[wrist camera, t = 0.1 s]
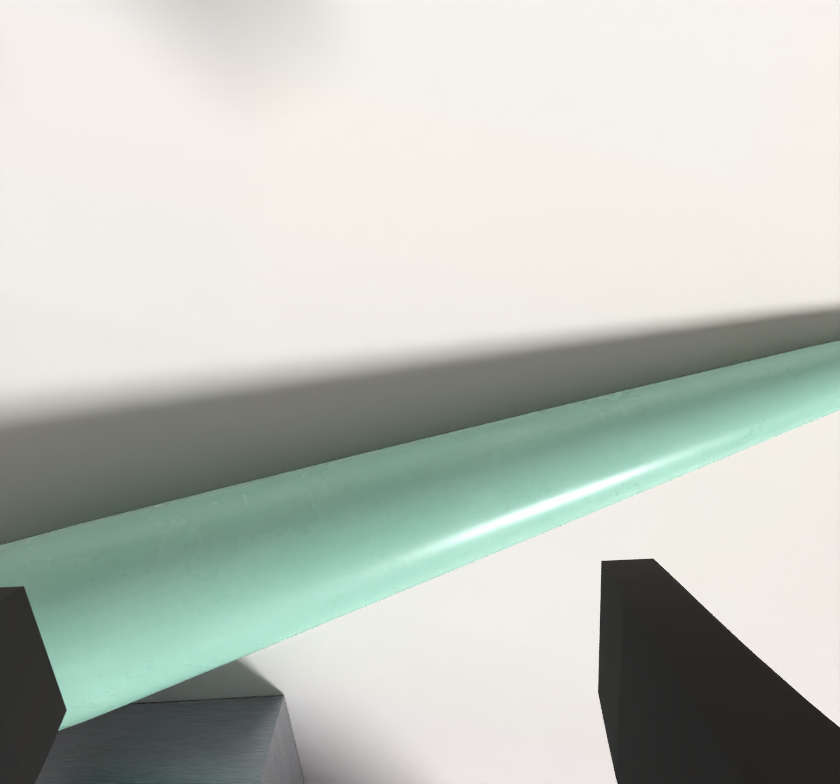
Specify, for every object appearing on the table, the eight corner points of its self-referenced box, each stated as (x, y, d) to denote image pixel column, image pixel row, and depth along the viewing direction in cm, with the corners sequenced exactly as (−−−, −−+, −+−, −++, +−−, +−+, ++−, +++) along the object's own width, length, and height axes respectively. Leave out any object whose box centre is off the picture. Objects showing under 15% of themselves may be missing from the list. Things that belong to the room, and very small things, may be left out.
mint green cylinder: (1102, 544, 13) (-66, 821, 17) (918, 428, 18) (52, 661, 22) (1104, 282, 11) (-199, 657, 15) (900, 235, 17) (-38, 524, 20)
